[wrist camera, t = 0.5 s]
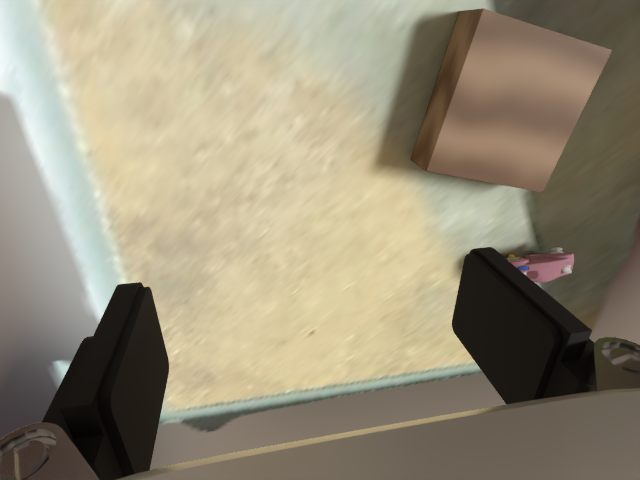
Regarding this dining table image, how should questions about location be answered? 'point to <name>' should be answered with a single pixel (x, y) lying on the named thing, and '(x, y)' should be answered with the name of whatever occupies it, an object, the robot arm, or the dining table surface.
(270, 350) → the dining table surface
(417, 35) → the dining table surface
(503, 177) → the walnut block
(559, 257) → the video game controller
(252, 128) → the dining table surface
